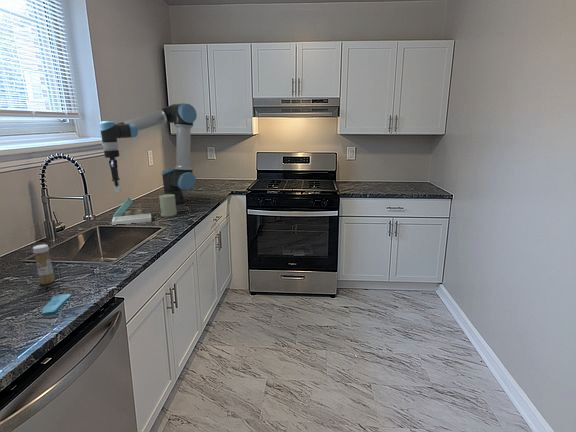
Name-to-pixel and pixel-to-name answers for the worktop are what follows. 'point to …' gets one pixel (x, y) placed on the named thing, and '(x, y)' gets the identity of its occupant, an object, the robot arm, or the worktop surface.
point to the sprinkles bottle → (43, 264)
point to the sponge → (55, 304)
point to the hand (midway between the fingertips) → (117, 191)
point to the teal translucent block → (134, 211)
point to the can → (167, 205)
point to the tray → (132, 219)
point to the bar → (123, 208)
